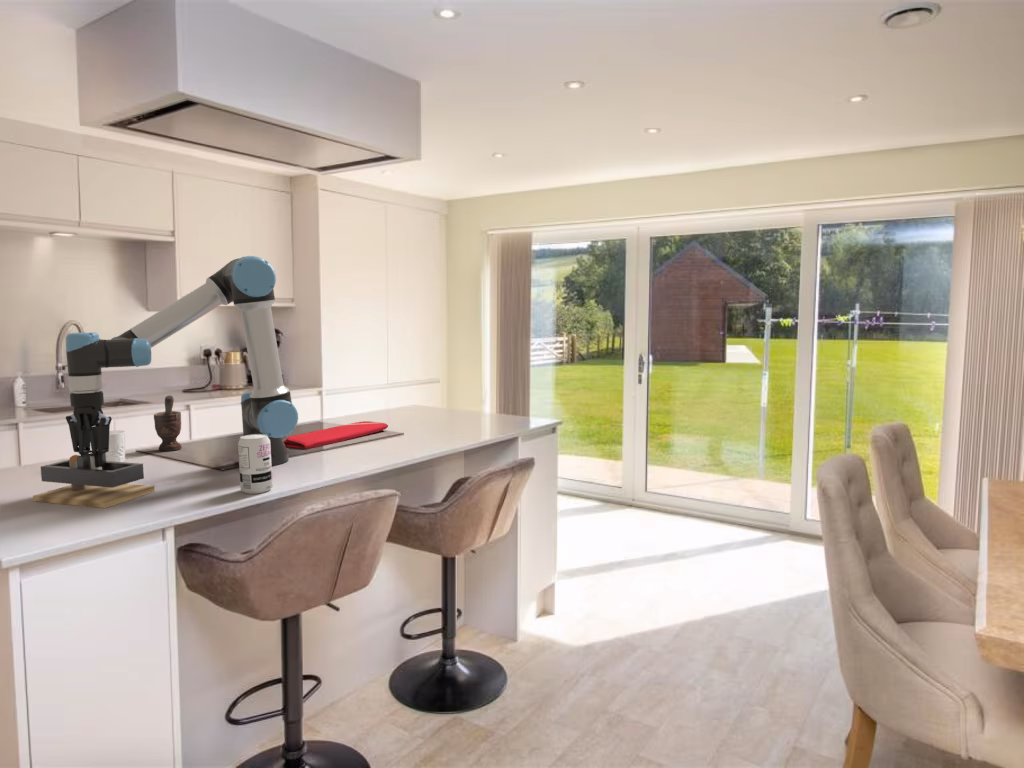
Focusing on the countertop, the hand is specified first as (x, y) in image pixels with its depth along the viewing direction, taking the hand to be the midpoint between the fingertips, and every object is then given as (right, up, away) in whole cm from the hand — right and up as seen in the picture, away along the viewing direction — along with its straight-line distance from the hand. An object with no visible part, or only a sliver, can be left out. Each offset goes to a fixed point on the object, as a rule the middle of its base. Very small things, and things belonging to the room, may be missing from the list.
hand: (93, 478), depth 186 cm
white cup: (-18, -1, +40) cm, 44 cm away
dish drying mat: (+45, +4, +78) cm, 90 cm away
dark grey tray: (0, 0, 0) cm, 0 cm away
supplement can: (+42, -4, +4) cm, 43 cm away
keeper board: (0, -5, +1) cm, 5 cm away
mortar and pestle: (-8, +2, +59) cm, 60 cm away
